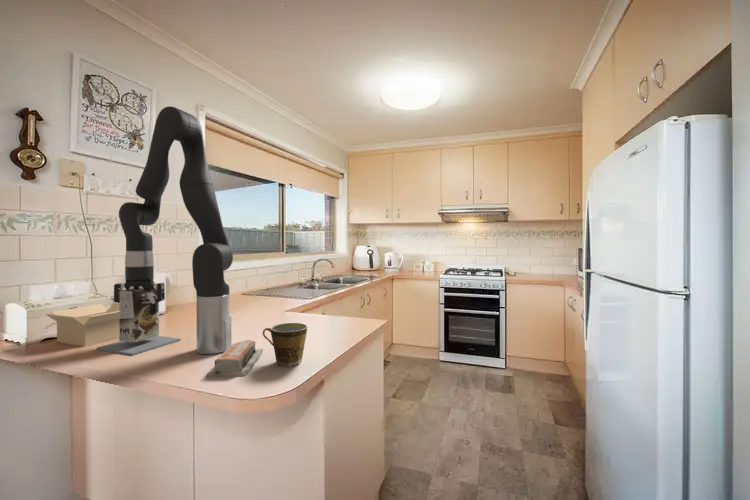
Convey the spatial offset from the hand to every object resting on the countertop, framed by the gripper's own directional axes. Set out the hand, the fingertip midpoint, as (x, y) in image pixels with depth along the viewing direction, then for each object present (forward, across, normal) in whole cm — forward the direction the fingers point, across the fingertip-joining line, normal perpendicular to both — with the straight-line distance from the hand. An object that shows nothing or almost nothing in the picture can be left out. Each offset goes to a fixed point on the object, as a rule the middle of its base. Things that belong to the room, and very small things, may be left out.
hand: (139, 315), depth 107 cm
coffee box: (+8, 0, 0) cm, 8 cm away
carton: (+10, +19, -11) cm, 24 cm away
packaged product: (+10, -35, +22) cm, 43 cm away
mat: (+10, 0, 0) cm, 10 cm away
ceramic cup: (+10, -48, +22) cm, 54 cm away
